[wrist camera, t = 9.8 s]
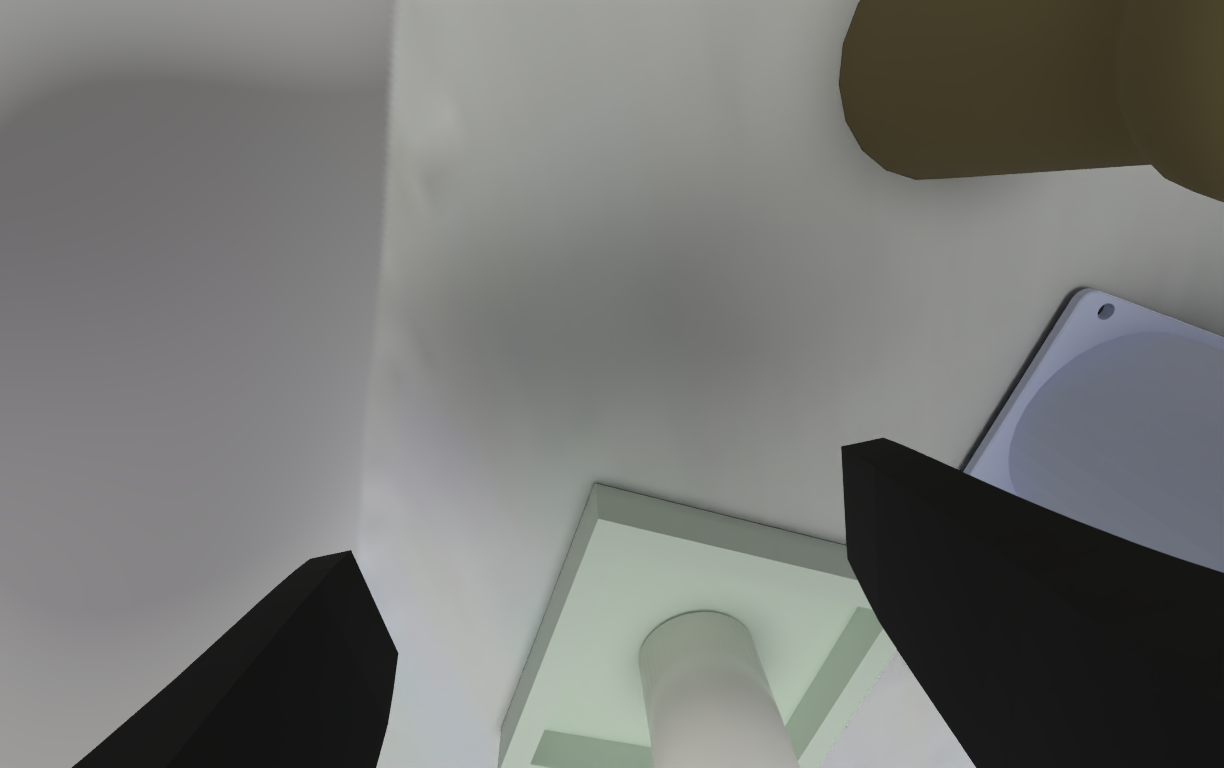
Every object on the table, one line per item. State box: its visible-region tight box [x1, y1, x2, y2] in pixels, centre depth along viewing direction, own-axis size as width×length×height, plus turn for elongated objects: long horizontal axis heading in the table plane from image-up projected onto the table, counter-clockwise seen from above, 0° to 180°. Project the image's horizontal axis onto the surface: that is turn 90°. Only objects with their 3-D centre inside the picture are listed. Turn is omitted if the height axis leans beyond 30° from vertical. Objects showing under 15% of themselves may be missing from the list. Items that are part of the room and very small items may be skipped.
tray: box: [498, 483, 897, 768], centre depth 23 cm, size 12×12×2 cm
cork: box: [839, 0, 1224, 202], centre depth 11 cm, size 6×6×11 cm
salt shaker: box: [638, 612, 800, 768], centre depth 20 cm, size 4×4×7 cm
